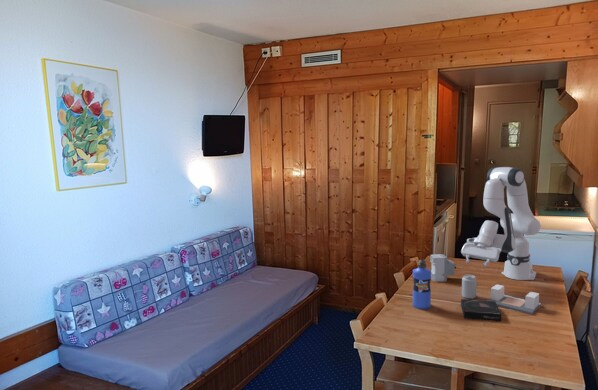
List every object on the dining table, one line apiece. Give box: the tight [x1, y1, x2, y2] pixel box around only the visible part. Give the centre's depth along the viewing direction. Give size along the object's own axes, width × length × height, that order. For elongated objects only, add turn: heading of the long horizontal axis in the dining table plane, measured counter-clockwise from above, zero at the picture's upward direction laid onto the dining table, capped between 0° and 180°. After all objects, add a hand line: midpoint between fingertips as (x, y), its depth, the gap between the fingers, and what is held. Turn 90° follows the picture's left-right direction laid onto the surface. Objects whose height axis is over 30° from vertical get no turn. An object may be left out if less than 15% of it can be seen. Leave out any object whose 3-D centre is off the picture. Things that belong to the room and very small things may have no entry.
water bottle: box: [412, 258, 432, 310], centre depth 218 cm, size 9×9×25 cm
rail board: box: [486, 284, 542, 316], centre depth 218 cm, size 15×22×7 cm
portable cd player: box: [460, 298, 502, 322], centre depth 209 cm, size 16×17×4 cm
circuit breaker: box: [429, 253, 457, 283], centre depth 259 cm, size 8×14×15 cm, turn 89°
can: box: [461, 274, 478, 300], centre depth 229 cm, size 8×8×12 cm
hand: (475, 264), depth 235 cm, fingers open, 8 cm apart
